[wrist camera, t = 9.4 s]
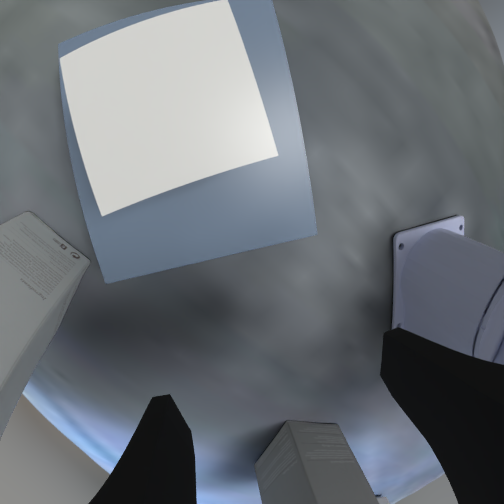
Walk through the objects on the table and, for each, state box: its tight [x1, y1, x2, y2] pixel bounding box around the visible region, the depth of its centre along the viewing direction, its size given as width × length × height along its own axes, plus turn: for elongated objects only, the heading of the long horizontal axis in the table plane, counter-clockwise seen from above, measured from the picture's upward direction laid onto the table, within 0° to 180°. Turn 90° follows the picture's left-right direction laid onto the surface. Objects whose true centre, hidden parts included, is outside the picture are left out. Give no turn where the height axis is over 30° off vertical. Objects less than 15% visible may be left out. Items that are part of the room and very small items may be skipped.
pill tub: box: [60, 0, 278, 216], centre depth 9 cm, size 5×5×6 cm
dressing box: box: [58, 0, 317, 284], centre depth 14 cm, size 13×11×4 cm
